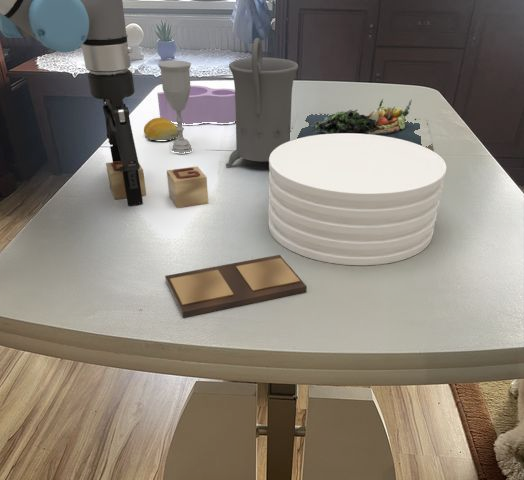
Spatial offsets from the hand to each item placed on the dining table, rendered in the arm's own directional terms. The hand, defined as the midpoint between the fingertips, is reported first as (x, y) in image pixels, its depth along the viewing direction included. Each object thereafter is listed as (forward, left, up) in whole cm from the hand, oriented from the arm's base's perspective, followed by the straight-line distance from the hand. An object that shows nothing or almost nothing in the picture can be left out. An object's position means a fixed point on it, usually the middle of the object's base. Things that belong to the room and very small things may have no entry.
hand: (128, 190), depth 107 cm
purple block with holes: (+27, +43, 0) cm, 51 cm away
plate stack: (+33, -29, 0) cm, 44 cm away
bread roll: (+14, +32, 0) cm, 35 cm away
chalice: (+16, +20, 0) cm, 25 cm away
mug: (+30, +5, 0) cm, 30 cm away
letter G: (+10, -8, 0) cm, 13 cm away
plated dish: (+62, +19, 0) cm, 65 cm away
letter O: (0, 0, 0) cm, 0 cm away
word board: (+8, -41, 0) cm, 42 cm away
